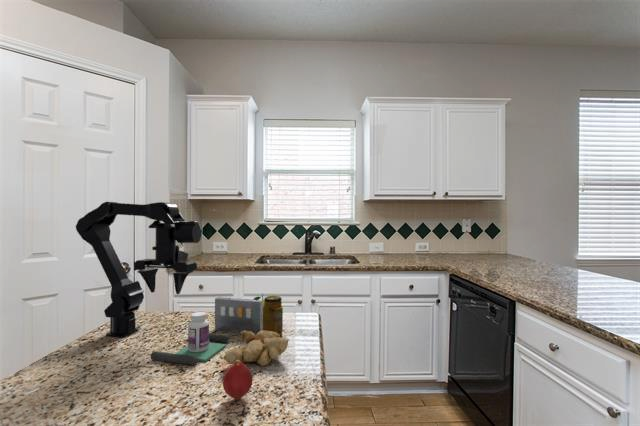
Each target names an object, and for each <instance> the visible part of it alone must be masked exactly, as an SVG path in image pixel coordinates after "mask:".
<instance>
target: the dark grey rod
mask: <svg viewBox="0 0 640 426" xmlns="http://www.w3.org/2000/svg"><path fill="white" fill-rule="evenodd" d="M229 340H230V336H229V335H228V334H221V333H213V332H209V342H210V341H211V342H220V343H227V342H229Z"/></svg>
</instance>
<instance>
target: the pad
mask: <svg viewBox="0 0 640 426" xmlns="http://www.w3.org/2000/svg"><path fill="white" fill-rule="evenodd" d="M225 348H227V344H226V343H224V344H223V343H215V342H209V347H208V349H207V350H205V351H202V352H198V353H195V352H190V351H189V350H188V345H187V346H185V347H183V348H182V349H180V350H178V351H177V352H175V353H174V354H181V355H189V356H196V357H197V358H198V362H204V363H206V362H208V361H209V360H210V359H212V358H213V357H215V356H216V355H217V354H218V353H220V352H221V351H223V350H224V349H225Z"/></svg>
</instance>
